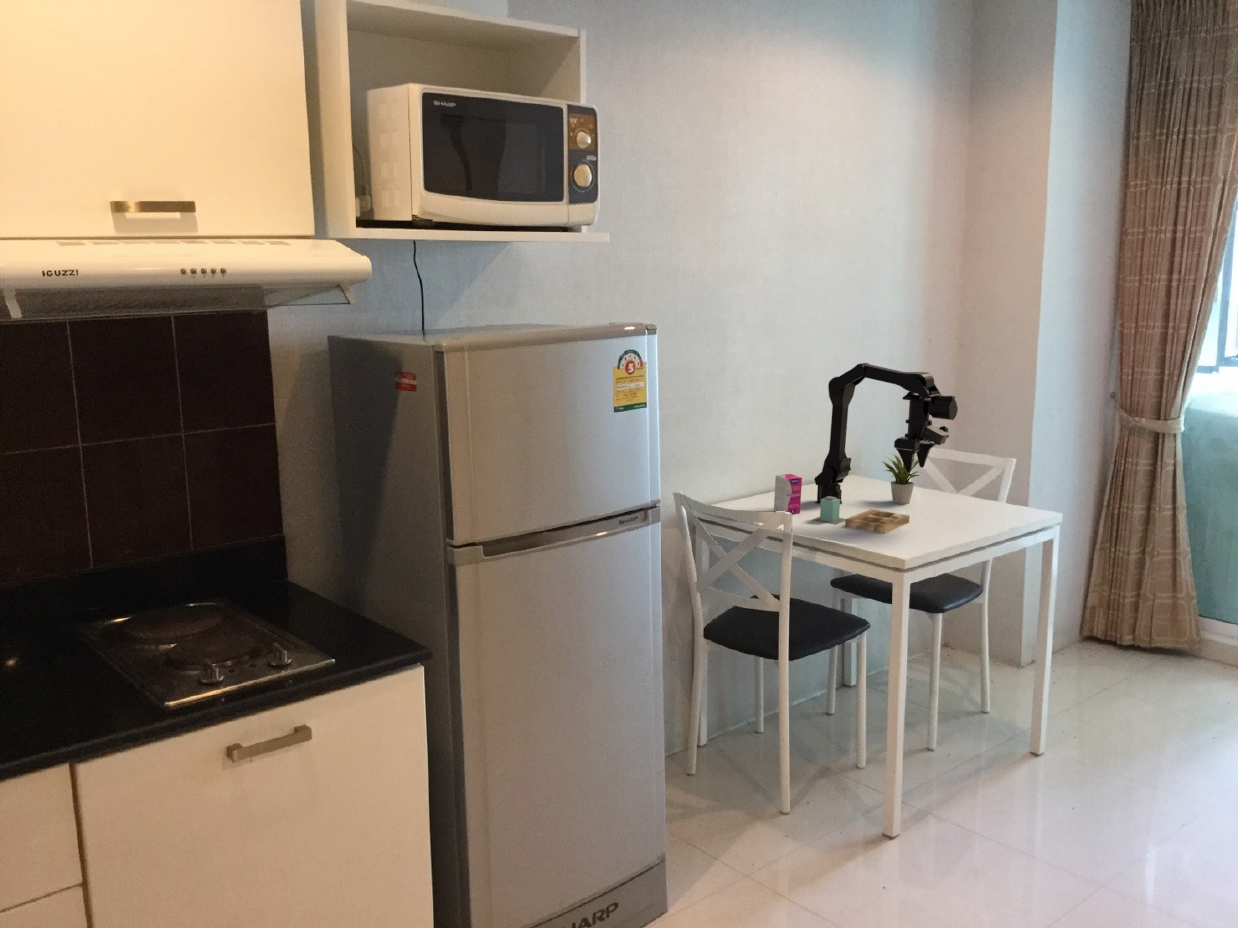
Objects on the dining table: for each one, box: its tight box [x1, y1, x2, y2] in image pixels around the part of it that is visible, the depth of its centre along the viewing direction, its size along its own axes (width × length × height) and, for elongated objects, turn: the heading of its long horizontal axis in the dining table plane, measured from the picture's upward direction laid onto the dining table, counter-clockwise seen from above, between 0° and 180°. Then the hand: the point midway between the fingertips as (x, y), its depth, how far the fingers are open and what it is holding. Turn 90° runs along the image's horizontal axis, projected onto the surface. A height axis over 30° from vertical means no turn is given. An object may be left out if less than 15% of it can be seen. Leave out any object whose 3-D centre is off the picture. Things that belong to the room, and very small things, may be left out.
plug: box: [819, 496, 841, 522], centre depth 308 cm, size 4×4×7 cm
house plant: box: [882, 452, 922, 505], centre depth 333 cm, size 14×14×16 cm
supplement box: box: [773, 473, 803, 515], centre depth 316 cm, size 6×6×12 cm
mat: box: [811, 516, 846, 526], centre depth 309 cm, size 8×8×1 cm
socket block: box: [844, 508, 911, 534], centre depth 304 cm, size 12×16×3 cm
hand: (915, 469), depth 311 cm, fingers open, 9 cm apart
